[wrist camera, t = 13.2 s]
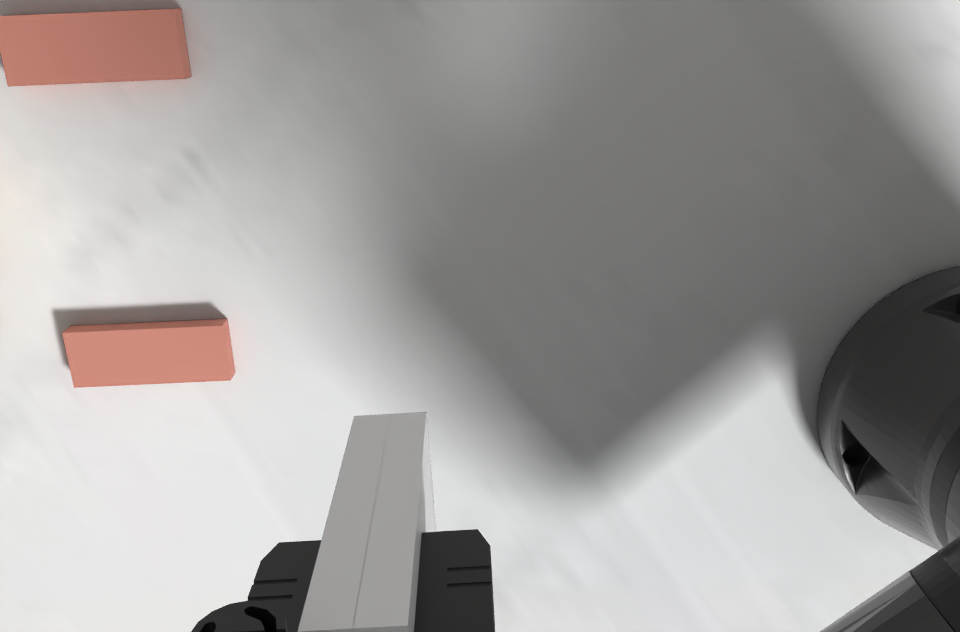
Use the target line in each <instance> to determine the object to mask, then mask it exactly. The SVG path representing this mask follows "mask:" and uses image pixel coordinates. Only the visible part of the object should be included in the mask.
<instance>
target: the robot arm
mask: <svg viewBox="0 0 960 632" xmlns="http://www.w3.org/2000/svg"><path fill="white" fill-rule="evenodd" d="M817 425H818V433H819V439H820V443H821V446H822V450H823V452H824V455H825V458H826V460H827V462H828V464H829V466H830V467H831V469H832V470H833V472H834V474H835V475H836V476H837V478H838V479H839V480H840V481H841V483H842V484H843V485H844V486H845V488H846V489H847V490H848V491H849V493H850V494H851V495H852V496H853V498H854V499H855V500H856V501H857V502H858V503H859V504H860V505H861V506H862V507H863V508H864V509H865V510H867V511H868V512H869V513H870V514H872V515H873V516H874V517H876V518H877V519H878V520H880V521H882V522H883V523H885V524H887V525H888V526H890V527H892V528H894V529H896V530H898V531H900V532H902V533H904V534H906V535H908V536H910V537H912V538H914V539H916V540H918V541H920V542H922V543H924V544H926V545H928V546H930V547H932V548H934V549H936V550H938V552H937V553H935V554H934V555H932V556H931V557H929V558H928V559H927V560H925V561H924V562H922V563H921V564H919V565H918V566H916V567H915V568H914V569H912V570H910V571H908V572H907V573H905V574H904V575H902V576H901V577H899V578H898V579H896V580H895V581H894V582H892V583H891V584H889V585H888V586H886V587H885V588H883V589H882V590H880V591H879V592H877V593H876V594H875V595H873V596H872V597H870V598H869V599H867V600H866V601H864V602H863V603H861V604H860V605H858V606H857V607H856V608H854V609H853V610H851V611H850V612H848V613H847V614H845V615H844V616H842V617H841V618H839V619H838V620H837V621H835V622H834V623H832V624H831V625H829V626H828V627H826V628H825V629H823V630H822V631H820V632H960V267H955V268H951V269H946V270H943V271H939V272H936V273H933V274H930V275H927V276H925V277H922V278H920V279H918V280H915V281H913V282H911V283H909V284H907V285H905V286H903V287H902V288H900V289H898V290H897V291H895V292H893V293H892V294H890V295H889V296H887V297H886V298H885V299H883V300H882V301H881V302H879V303H878V304H877V305H875V306H874V307H873V308H872V309H871V310H870V311H869V312H867V313H866V314H865V315H864V316H863V317H862V318H861V319H860V320H859V321H858V322H857V324H856V325H855V326H854V327H853V328H852V329H851V330H850V332H849V333H848V334H847V336H846V337H845V338H844V340H843V341H842V343H841V344H840V346H839V347H838V349H837V351H836V352H835V354H834V356H833V358H832V360H831V362H830V364H829V366H828V368H827V371H826V373H825V376H824V379H823V382H822V386H821V390H820V394H819V400H818V410H817ZM191 632H495V620H494V603H493V585H492V568H491V551H490V545H489V544H488V542H487V541H486V540H485V538H484V537H483V536H482V534H481V533H480V532H479V531H478V529H476V530H458V531H440V532H436V521H435V508H434V496H433V484H432V472H431V460H430V447H429V435H428V423H427V412H418V413H401V414H383V415H365V416H354V419H353V423H352V427H351V430H350V434H349V438H348V442H347V446H346V449H345V453H344V457H343V461H342V465H341V468H340V472H339V476H338V480H337V484H336V487H335V491H334V495H333V499H332V503H331V506H330V510H329V514H328V518H327V522H326V525H325V529H324V533H323V537H322V540H317V541H299V542H281V543H278V544H277V545H276V546H275V547H274V548H273V549H272V550H271V551H270V552H269V553H268V554H267V555H266V556H265V557H264V558H263V559H262V560H261V562H260V565H259V568H258V571H257V574H256V576H255V579H254V585H252V587H251V590H250V593H249V596H248V601H244V602H238V603H233V604H229V605H226V606H224V607H222V608H219V609H217V610H215V611H212V612H211V613H210V614H208V615H207V616H206V617H204V618H203V619H202V620H200V621H199V622H198V623H197V624H196V626H195V627H194V629H193V630H192V631H191Z"/></svg>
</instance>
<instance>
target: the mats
mask: <svg viewBox="0 0 960 632" xmlns="http://www.w3.org/2000/svg"><path fill="white" fill-rule="evenodd" d="M0 53H1V57H2V62H3V66H4V71H5V76H6V80H7V85H8V86H26V85H50V84H73V83H97V82H120V81H144V80H167V79H186V78H189V77H191V71H190V64H189V58H188V51H187V44H186V38H185V31H184V24H183V17H182V11H181V8H179V9H155V10H131V11H107V12H83V13H59V14H35V15H11V16H0ZM62 335H63V339H64V344H65V348H66V353H67V357H68V362H69V366H70V371H71V376H72V380H73V385H74V388H76V387H97V386H119V385H140V384H162V383H183V382H205V381H226V380H231V379H232V377H233V375H234V374H235V367H234V360H233V354H232V347H231V340H230V333H229V327H228V320H227V319H212V320H190V321H168V322H146V323H124V324H102V325H80V326H70V327H69V328H67V329H66V330H65V331H64V332H63V333H62Z"/></svg>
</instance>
